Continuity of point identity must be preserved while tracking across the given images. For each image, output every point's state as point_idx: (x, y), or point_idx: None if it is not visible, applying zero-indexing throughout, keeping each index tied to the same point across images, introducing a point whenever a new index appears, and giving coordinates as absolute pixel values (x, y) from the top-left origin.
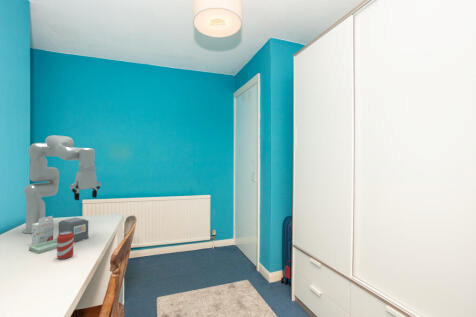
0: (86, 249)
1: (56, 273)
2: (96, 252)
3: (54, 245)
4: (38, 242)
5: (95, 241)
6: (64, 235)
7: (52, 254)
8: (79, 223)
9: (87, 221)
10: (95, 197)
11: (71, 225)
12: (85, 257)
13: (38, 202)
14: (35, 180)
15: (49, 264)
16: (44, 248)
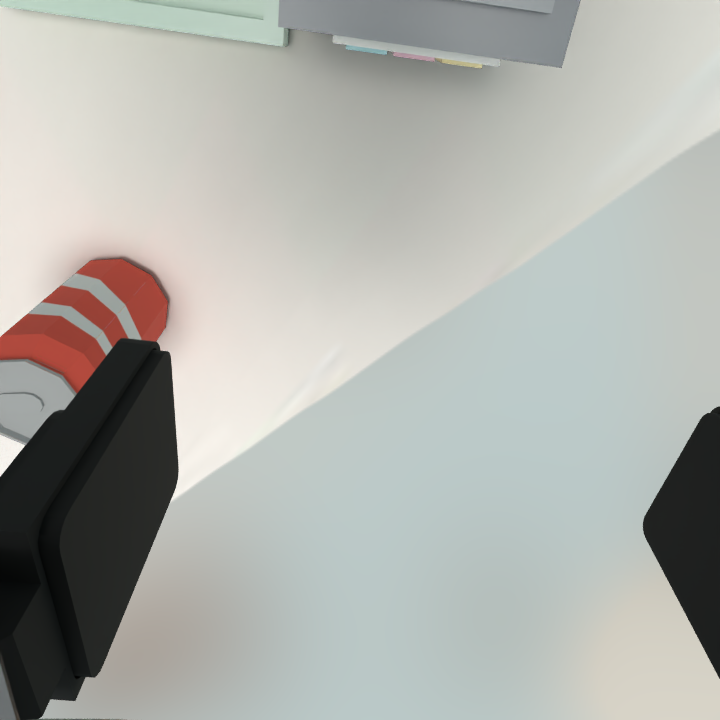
0: (281, 309)
1: (5, 449)
2: (275, 412)
3: (138, 22)
4: None
5: (443, 217)
6: (10, 429)
7: (87, 154)
8: (417, 46)
9: (542, 64)
10: (654, 528)
11: (297, 29)
12: (192, 415)
13: None
14: None
15: (13, 316)
16: (43, 11)
